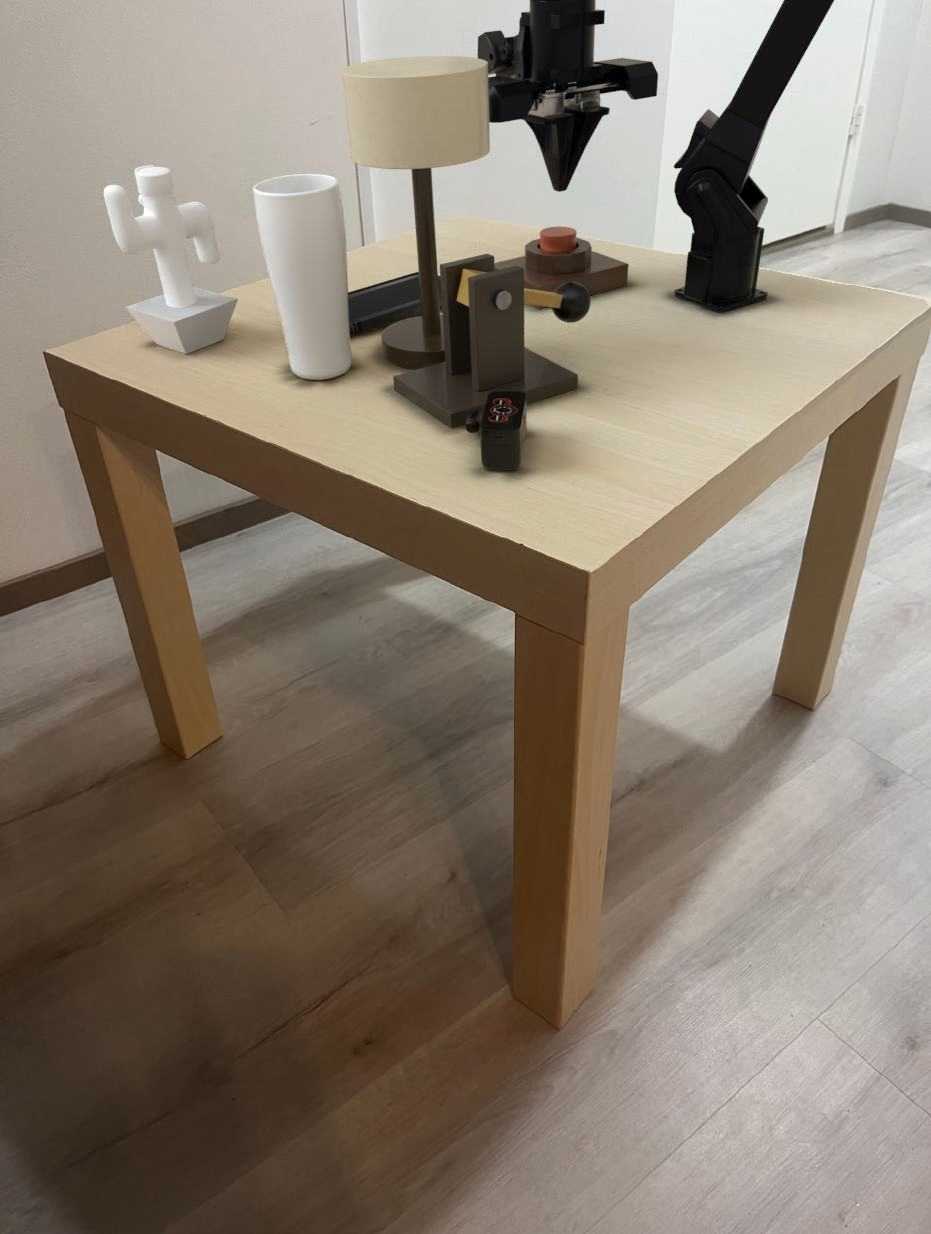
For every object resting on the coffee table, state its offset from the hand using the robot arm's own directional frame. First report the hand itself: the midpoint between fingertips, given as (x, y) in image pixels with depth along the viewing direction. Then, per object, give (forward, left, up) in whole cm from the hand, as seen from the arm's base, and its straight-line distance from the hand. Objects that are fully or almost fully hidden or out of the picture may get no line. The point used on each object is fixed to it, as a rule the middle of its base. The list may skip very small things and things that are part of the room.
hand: (559, 190), depth 90 cm
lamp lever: (+16, +17, -4) cm, 24 cm away
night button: (0, 0, -6) cm, 6 cm away
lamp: (+19, +7, -9) cm, 22 cm away
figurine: (+36, -9, -9) cm, 38 cm away
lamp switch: (+20, +17, -9) cm, 28 cm away
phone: (+17, -5, -9) cm, 20 cm away
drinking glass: (+29, +5, -9) cm, 31 cm away
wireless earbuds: (+25, +26, -9) cm, 37 cm away
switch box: (0, 0, -9) cm, 9 cm away
